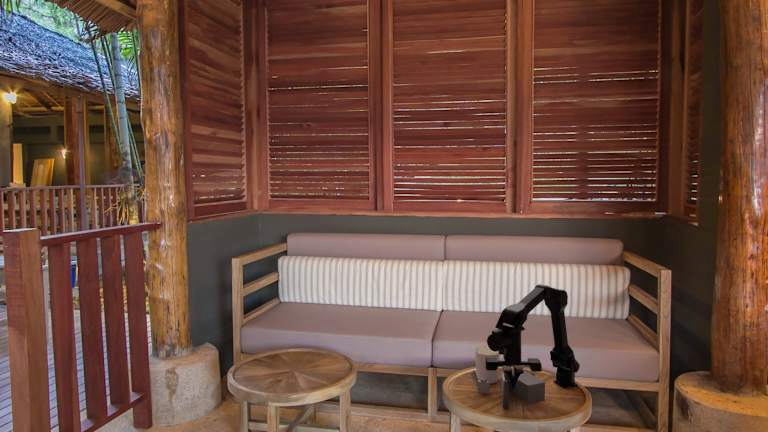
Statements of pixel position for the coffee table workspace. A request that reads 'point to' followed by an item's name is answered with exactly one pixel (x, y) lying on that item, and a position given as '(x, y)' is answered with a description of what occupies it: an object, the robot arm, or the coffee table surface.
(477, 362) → the candle holder
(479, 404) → the coffee table surface
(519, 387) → the block
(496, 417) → the coffee table surface
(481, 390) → the lighter
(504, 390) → the side door
